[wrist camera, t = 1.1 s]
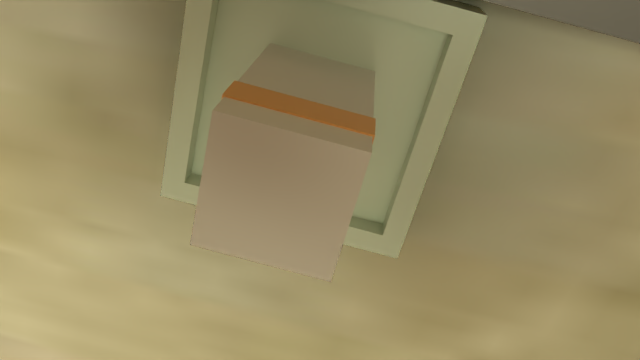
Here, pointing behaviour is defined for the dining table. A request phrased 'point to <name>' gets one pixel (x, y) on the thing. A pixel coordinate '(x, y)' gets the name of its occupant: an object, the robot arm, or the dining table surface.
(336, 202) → the plug
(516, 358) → the dining table surface
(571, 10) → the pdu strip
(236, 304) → the dining table surface
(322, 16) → the tray
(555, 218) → the dining table surface
